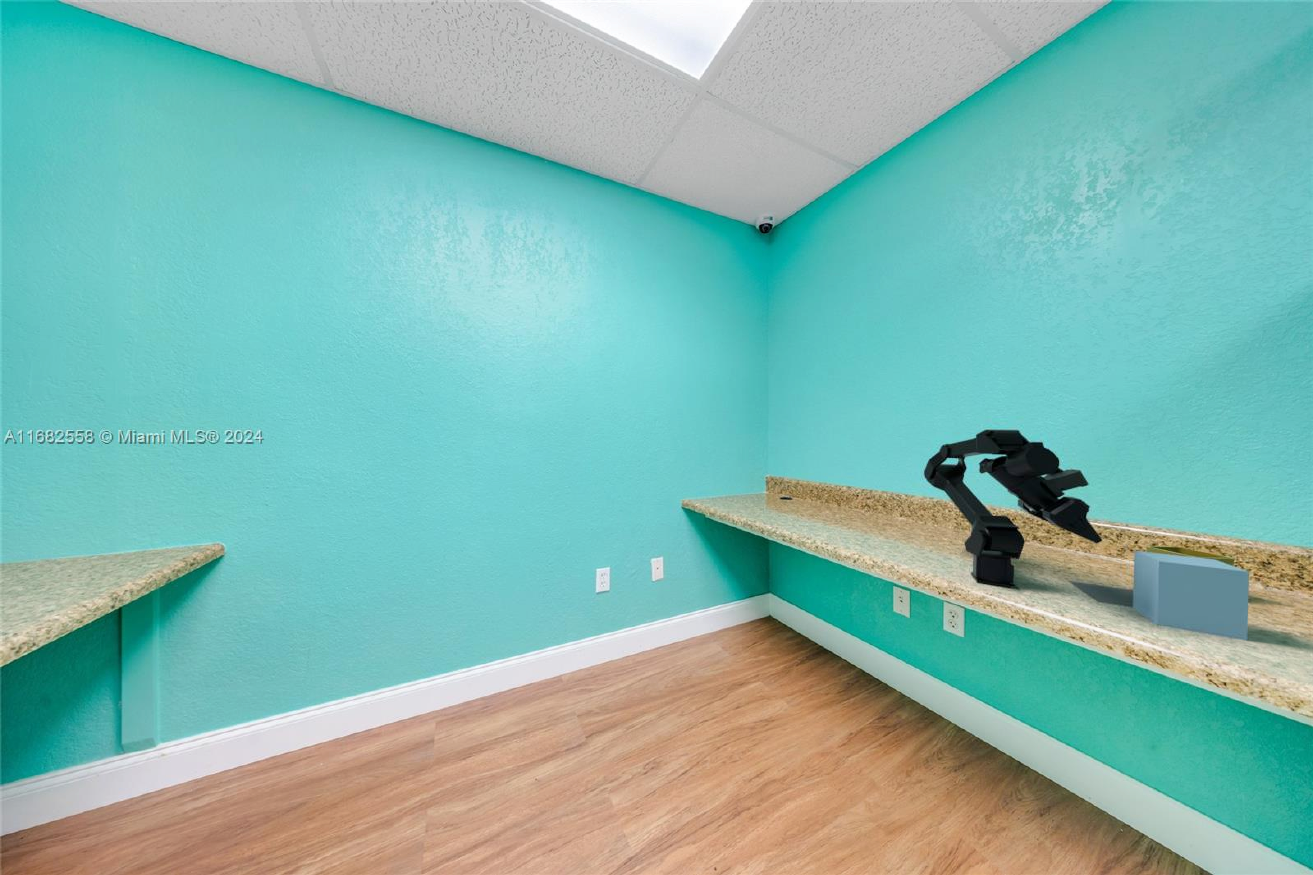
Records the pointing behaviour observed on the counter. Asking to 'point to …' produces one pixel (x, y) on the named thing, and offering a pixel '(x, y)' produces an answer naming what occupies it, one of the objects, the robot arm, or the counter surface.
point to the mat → (1107, 594)
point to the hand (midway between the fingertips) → (1087, 536)
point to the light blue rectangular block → (1191, 594)
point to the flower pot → (1189, 553)
